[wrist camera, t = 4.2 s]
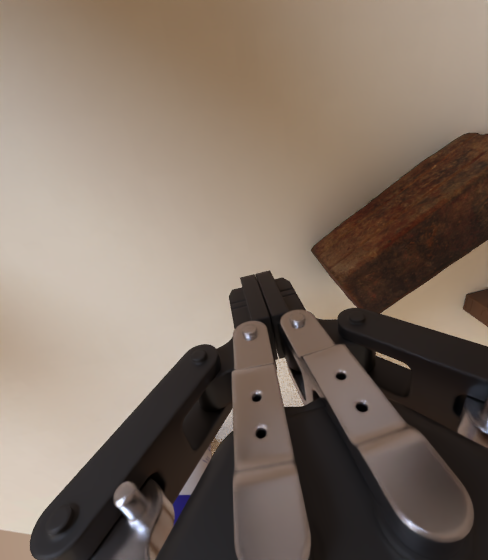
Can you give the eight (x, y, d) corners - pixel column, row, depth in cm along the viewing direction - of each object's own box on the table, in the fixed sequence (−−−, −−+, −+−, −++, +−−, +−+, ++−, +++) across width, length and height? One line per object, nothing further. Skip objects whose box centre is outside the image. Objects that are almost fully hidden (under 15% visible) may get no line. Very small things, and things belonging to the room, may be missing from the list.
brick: (336, 284, 21) (371, 325, 17) (306, 246, 19) (338, 282, 15) (475, 183, 18) (554, 201, 14) (457, 129, 16) (543, 132, 12)
